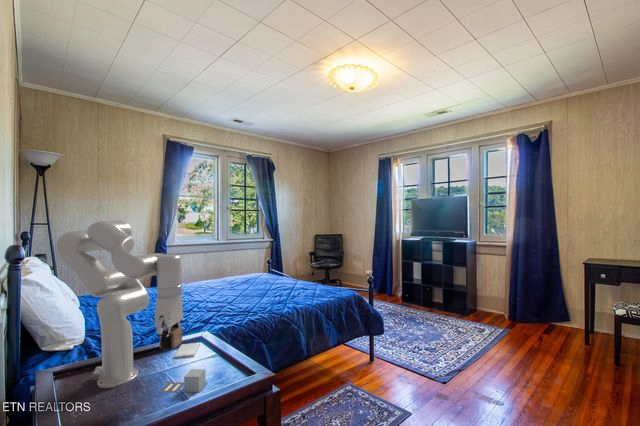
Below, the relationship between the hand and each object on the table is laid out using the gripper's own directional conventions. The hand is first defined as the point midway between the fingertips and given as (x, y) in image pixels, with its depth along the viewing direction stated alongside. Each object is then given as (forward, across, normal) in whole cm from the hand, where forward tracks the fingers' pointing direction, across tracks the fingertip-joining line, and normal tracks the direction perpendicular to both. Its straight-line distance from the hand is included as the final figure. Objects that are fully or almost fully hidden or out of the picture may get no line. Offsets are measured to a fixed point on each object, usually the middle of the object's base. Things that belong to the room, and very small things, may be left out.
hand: (171, 344), depth 107 cm
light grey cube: (+15, 0, +8) cm, 17 cm away
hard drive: (+16, -29, -10) cm, 35 cm away
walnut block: (0, 0, 0) cm, 0 cm away
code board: (+15, 0, +4) cm, 16 cm away
